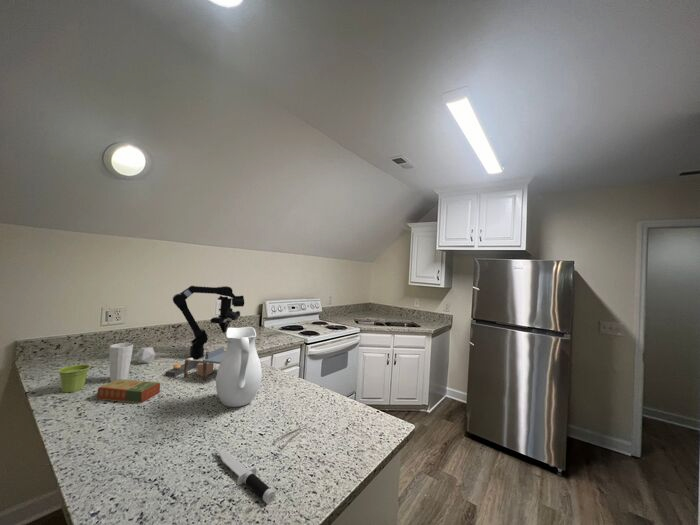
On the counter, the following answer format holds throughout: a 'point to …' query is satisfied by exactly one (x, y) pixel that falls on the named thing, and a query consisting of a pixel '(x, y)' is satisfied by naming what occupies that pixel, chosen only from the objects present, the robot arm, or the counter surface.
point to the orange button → (177, 366)
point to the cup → (120, 360)
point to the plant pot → (73, 377)
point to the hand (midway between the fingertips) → (224, 332)
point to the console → (181, 369)
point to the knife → (247, 477)
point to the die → (145, 355)
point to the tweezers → (286, 436)
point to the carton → (128, 391)
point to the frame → (195, 362)
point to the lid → (215, 356)
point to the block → (208, 368)
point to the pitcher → (239, 368)
